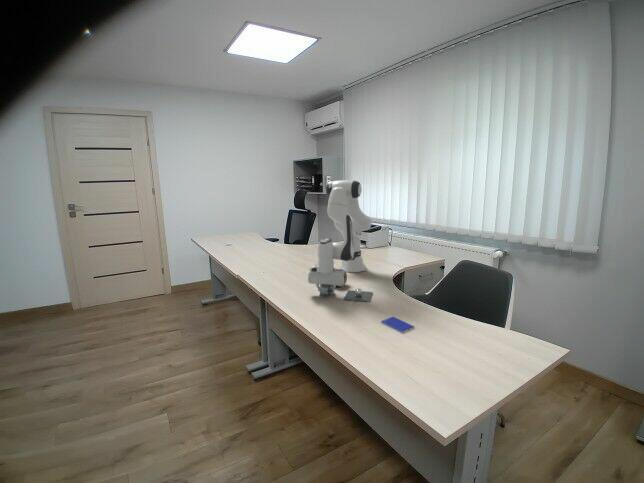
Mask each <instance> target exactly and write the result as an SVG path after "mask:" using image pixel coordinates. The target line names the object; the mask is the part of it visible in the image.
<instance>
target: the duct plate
mask: <svg viewBox="0 0 644 483" xmlns="http://www.w3.org/2000/svg"><path fill="white" fill-rule="evenodd" d="M372 296H373V291H365V290H364V291H362V289H361V288H355V290H349V289H348V290H347V293H345V296H344V297H343V301H350V302H361V303H362V302H363V303H370V302H371V299H372Z"/></svg>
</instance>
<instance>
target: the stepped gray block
mask: <svg viewBox="0 0 644 483" xmlns="http://www.w3.org/2000/svg"><path fill="white" fill-rule="evenodd" d="M319 287H320V291H319V296H323V297H332V296H333V294H334V293H333V292H331V289H333V288H334V287H333V285H324V284H319Z"/></svg>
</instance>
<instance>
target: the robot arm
mask: <svg viewBox="0 0 644 483" xmlns="http://www.w3.org/2000/svg"><path fill="white" fill-rule="evenodd" d="M362 189H363V188H362V184H361V183H360V182H359V181H357V180H346V179H344V180H342V179H341V180H331V181H328V182H327V183H326V186H325V194H326V196H327V197H328V203H327V210H326V211H327V216H328V217H329V218H330V220H332V221H333V223H334V224H333V225H334V227H335V228H336V230H337V231H338V232H340V233H341V235H342V237H343V242H337V241H336V242H335V241H333V240H332V238H321V239H320V240H318V245H317V258H318V261H317V264H313V265H311V267H310V268H309V272H308V278H307V282H308V284H314V285H315V286H316V288H317V292H320V284H324V285H333V289H331V292H333V294H334V293H335V289H336V287H338V286H342V285H343V284H344V271H345V272H346V273H360V272H364V271H365V272H366V271H367V269H366V264H365V263H363V262H364V259H363V257H362V250H361V243H362V242H361V238H360V237H358V236H357V235H355V234H354V232H364V231H365V232H366V231H369V230H370V229H371V227H372V219H371V218H370V217H369V216H368V215H367V214H365V213H364V212H363V210H362V209H361V208H360V204H359V198H360V196H361V193H362ZM334 260H338V261H339V260H340V261H341V266H339V268H335V262H334ZM342 269H343V270H344V271H343V270H342ZM337 285H338V286H337Z"/></svg>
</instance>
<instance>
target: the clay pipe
mask: <svg viewBox="0 0 644 483" xmlns="http://www.w3.org/2000/svg"><path fill="white" fill-rule="evenodd" d="M342 270H343V269H342ZM343 271H344V270H343ZM347 279H348V274H347V272H346V271H344V284H343V285H342V286H338V285H336V287H338V288H341V287H344V286H345V285H346V283H347Z"/></svg>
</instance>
